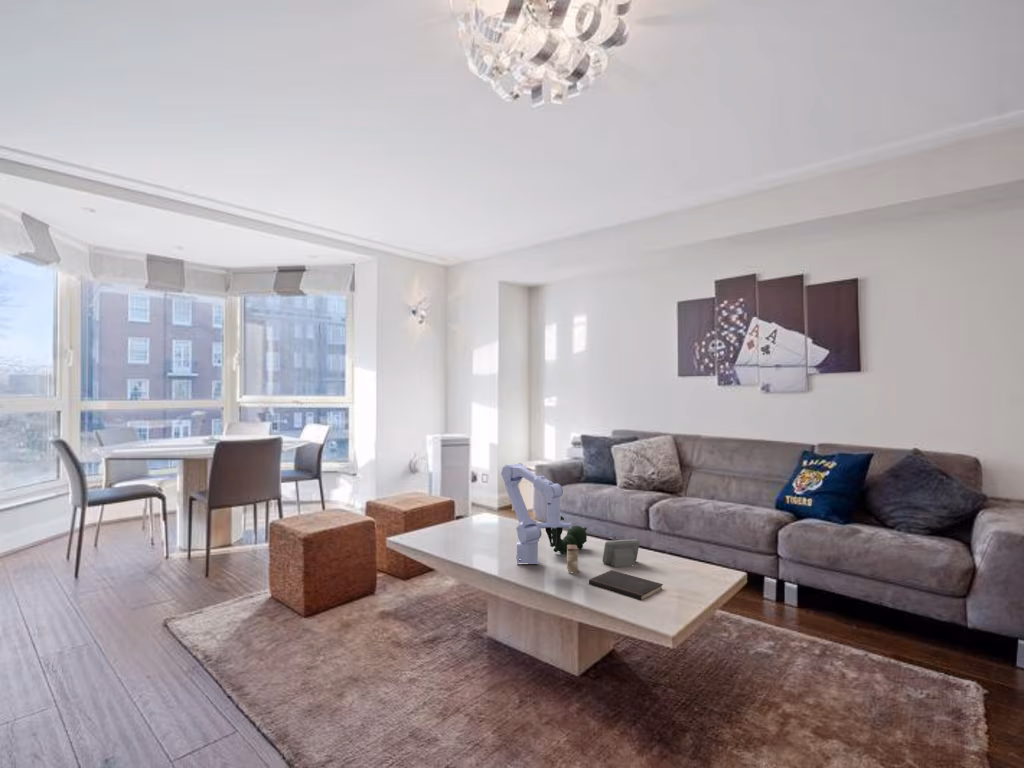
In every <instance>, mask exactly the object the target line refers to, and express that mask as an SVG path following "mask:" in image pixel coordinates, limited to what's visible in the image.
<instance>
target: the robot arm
mask: <svg viewBox="0 0 1024 768" xmlns="http://www.w3.org/2000/svg"><path fill="white" fill-rule="evenodd" d="M500 475H501V477H502V479H503V482H504V486H505V489H506V492H507V495H508V497H509V500H510V502H511V505H512V507H513V511H514V513H515V516H516V518H517V521H518V524H517V526H516V533H517V538H518V540H519V541H517V542H516V556H515V558H516V564H517V563H528V564H540V563H539V558H538V557H539V556H538V555H539V554H538V553H539V552H538V550H539V549H538V546H539V545H538V544H539V543H538V542H539V541H540V539H541V538H542V529H545V533H546V535H547V537H548V541H549V546H550V547H551V546H552V542H553V540H552V531H551V528H556V546H558V543H559V539H560V536H561V537H562V534H563V531H564V530H563V529H568V530H569V529H571V527H572V522H562V520H561V517H560V516H561V497H562V496H563V494H564V488H563V487H562V485H561V484H560V483H557V482H555V483H554V482H553V481H552V480H549V479H547V478H546V476H544V475H536V474H535V473H534V472H532V471H531V470H530V469H528V468H527V466H526V465H525V464H523V463H522V462H519V463H514V464H513V463H512V464H505V465H503V467H502V469H501V474H500ZM523 479H525V480H527V481H529V482H530V483H532V484H533V487H534V488H535V489H537V490H538V491H540V492H541V493H543V496H544V498H545V503H546V522H541V523H540V522H537V521H536V520H534V519H533V518H531V516H530V513H529V511H528V509H527V505H526V504H525V501H524V499H523V495H522V493H521V490H520V488H519V484H520V483H521V481H522V480H523ZM519 559H521V560H519Z"/></svg>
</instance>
